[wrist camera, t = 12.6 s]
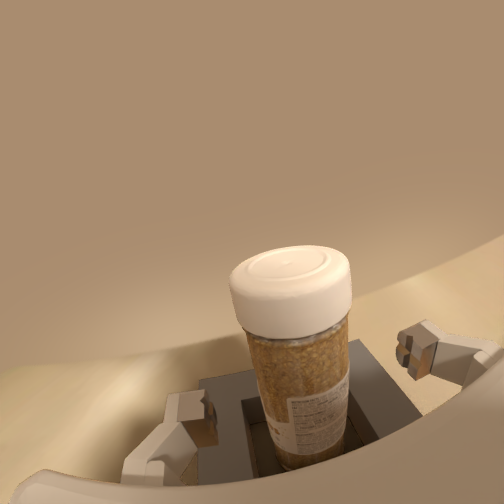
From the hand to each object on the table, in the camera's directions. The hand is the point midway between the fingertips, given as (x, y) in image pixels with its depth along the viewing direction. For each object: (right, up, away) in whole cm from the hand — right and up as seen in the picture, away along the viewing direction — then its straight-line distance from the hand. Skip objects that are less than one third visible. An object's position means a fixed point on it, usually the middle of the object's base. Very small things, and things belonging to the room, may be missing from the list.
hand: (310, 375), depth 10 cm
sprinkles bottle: (+2, -8, +4) cm, 9 cm away
